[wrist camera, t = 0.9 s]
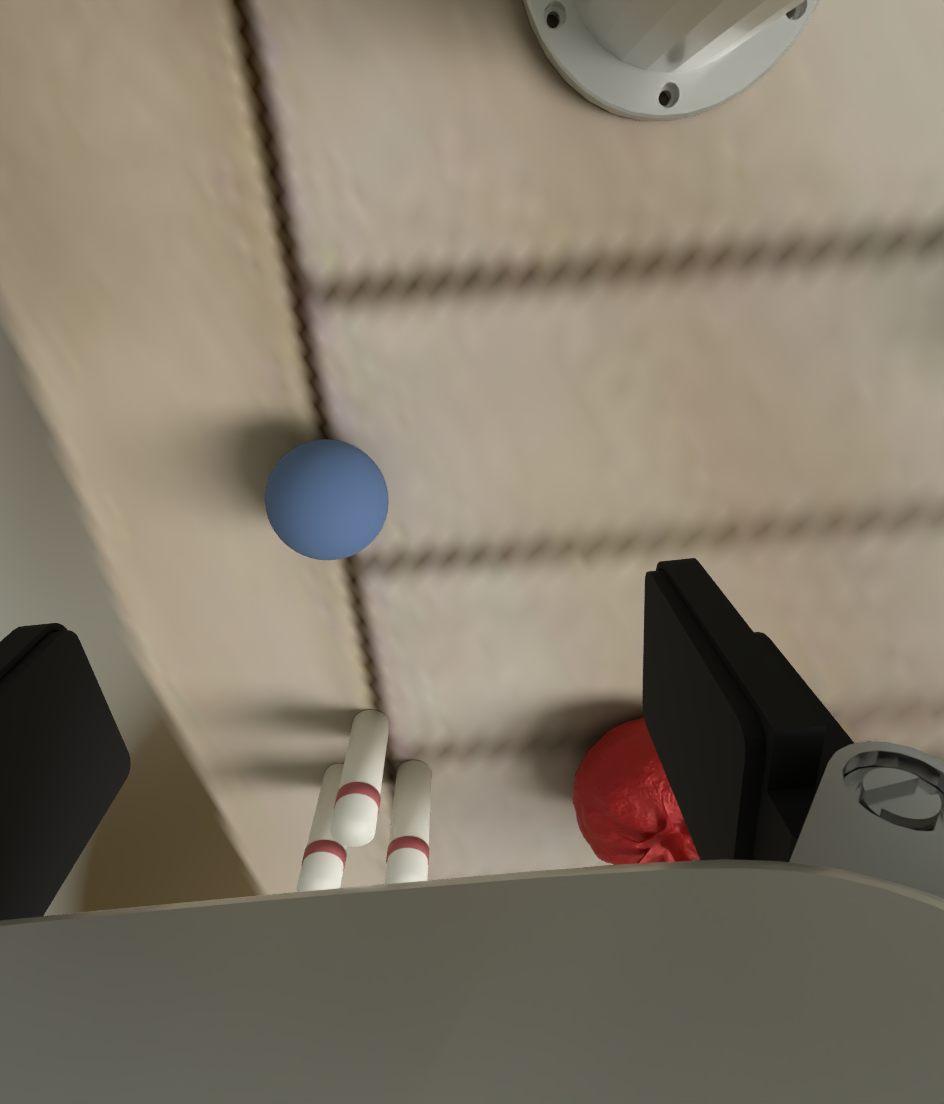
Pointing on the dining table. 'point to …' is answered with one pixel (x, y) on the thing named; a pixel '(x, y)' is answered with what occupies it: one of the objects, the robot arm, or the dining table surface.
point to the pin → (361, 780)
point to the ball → (326, 499)
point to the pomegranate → (629, 801)
